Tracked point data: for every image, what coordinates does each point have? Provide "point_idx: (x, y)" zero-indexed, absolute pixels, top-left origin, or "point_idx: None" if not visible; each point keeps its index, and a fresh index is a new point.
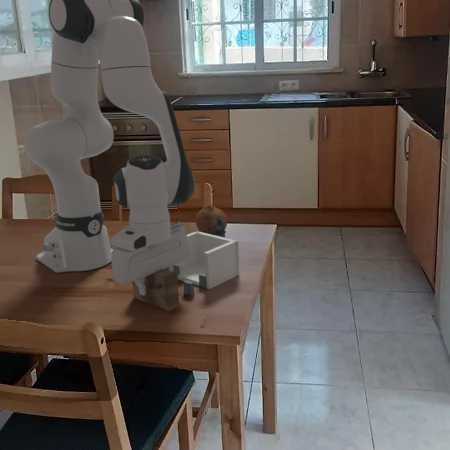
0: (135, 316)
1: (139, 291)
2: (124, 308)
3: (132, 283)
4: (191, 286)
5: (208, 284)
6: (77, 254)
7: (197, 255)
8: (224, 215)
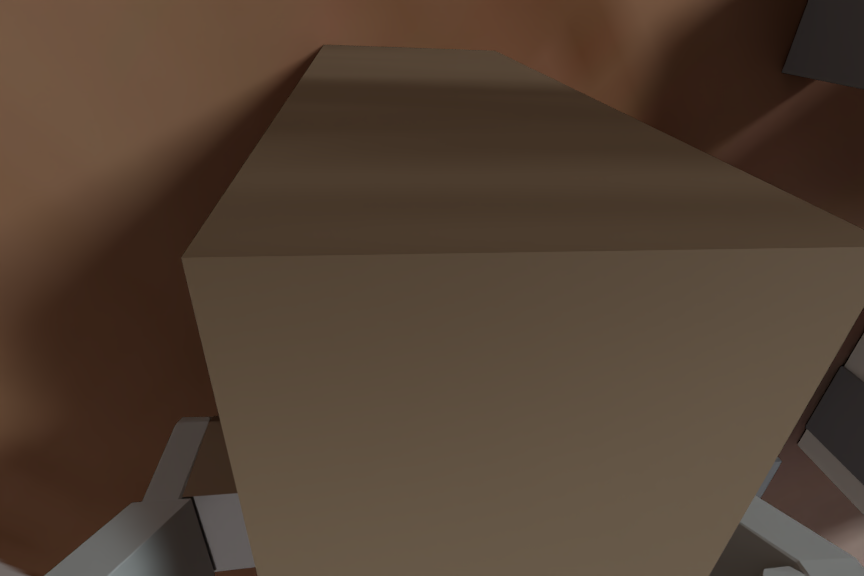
0: (80, 403)
1: (173, 440)
2: (61, 198)
3: (303, 79)
4: None
5: (829, 470)
6: None
7: None
8: None
